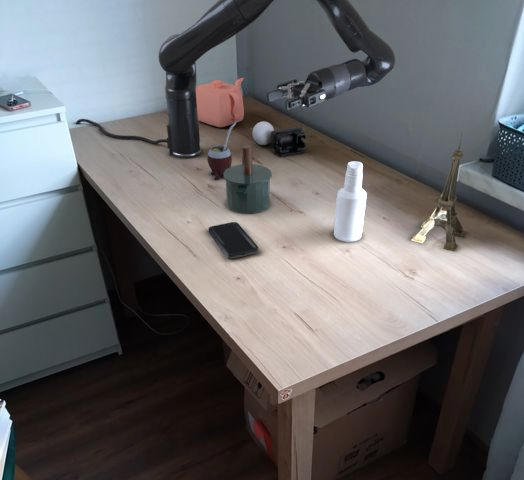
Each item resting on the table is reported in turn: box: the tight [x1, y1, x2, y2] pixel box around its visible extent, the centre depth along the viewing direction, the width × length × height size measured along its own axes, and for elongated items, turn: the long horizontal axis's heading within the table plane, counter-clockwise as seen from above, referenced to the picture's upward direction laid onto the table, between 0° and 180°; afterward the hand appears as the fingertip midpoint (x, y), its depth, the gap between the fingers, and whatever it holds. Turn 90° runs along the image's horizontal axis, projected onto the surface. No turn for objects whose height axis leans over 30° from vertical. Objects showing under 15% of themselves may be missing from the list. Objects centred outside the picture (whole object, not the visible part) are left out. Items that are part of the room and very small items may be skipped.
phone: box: [208, 221, 259, 260], centre depth 132 cm, size 8×1×15 cm
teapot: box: [196, 77, 245, 128], centre depth 197 cm, size 20×19×14 cm
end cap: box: [270, 126, 307, 157], centre depth 175 cm, size 10×7×7 cm
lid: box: [223, 144, 273, 186], centre depth 141 cm, size 13×13×8 cm
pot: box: [225, 179, 271, 215], centre depth 146 cm, size 11×17×8 cm
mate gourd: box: [207, 121, 238, 181], centre depth 158 cm, size 8×8×15 cm
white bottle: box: [333, 160, 368, 243], centre depth 129 cm, size 7×7×18 cm
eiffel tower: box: [410, 132, 467, 252], centre depth 126 cm, size 11×11×25 cm
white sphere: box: [250, 120, 275, 146], centre depth 181 cm, size 10×7×7 cm
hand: (276, 101), depth 138 cm, fingers open, 8 cm apart
